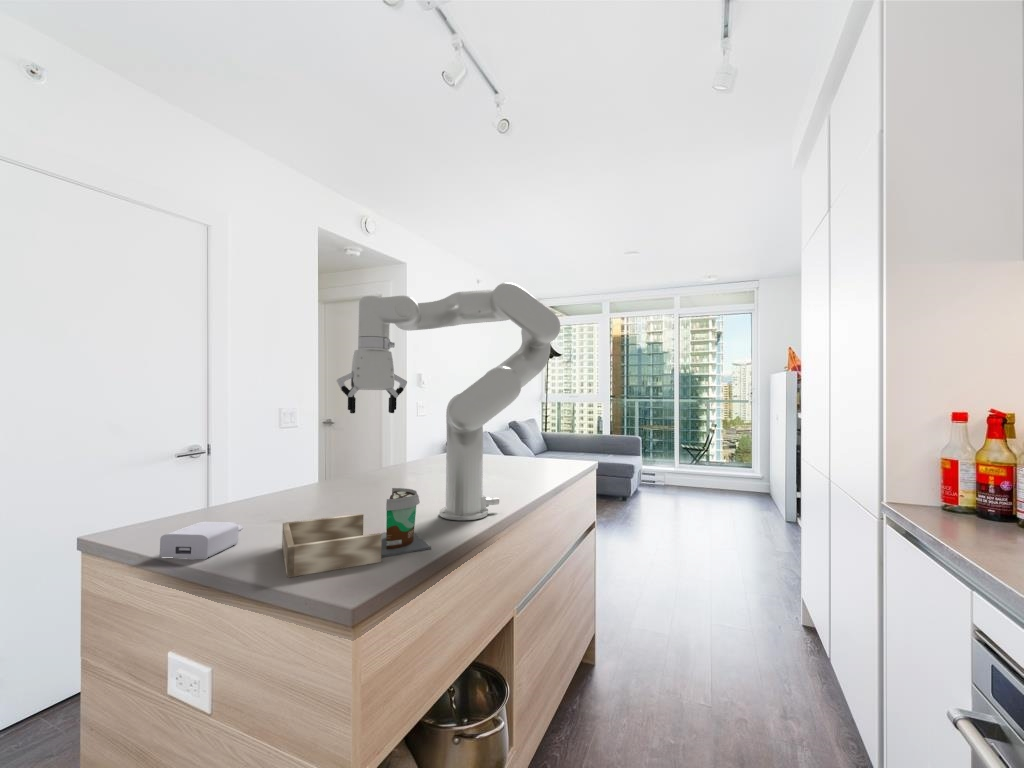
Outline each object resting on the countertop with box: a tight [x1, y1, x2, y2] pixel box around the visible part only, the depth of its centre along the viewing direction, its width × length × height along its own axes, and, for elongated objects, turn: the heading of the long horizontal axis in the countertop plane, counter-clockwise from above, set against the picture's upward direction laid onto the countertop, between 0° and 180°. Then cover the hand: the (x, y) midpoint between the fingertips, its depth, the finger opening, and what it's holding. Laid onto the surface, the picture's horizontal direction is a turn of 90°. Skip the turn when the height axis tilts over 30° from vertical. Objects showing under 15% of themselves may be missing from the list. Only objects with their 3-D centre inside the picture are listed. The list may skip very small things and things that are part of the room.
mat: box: [380, 532, 432, 558], centre depth 94 cm, size 10×14×1 cm
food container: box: [385, 487, 420, 550], centre depth 94 cm, size 12×6×10 cm, turn 9°
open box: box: [281, 513, 382, 578], centre depth 87 cm, size 16×17×5 cm
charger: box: [159, 521, 244, 560], centre depth 91 cm, size 5×9×15 cm
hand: (372, 413), depth 114 cm, fingers open, 9 cm apart
